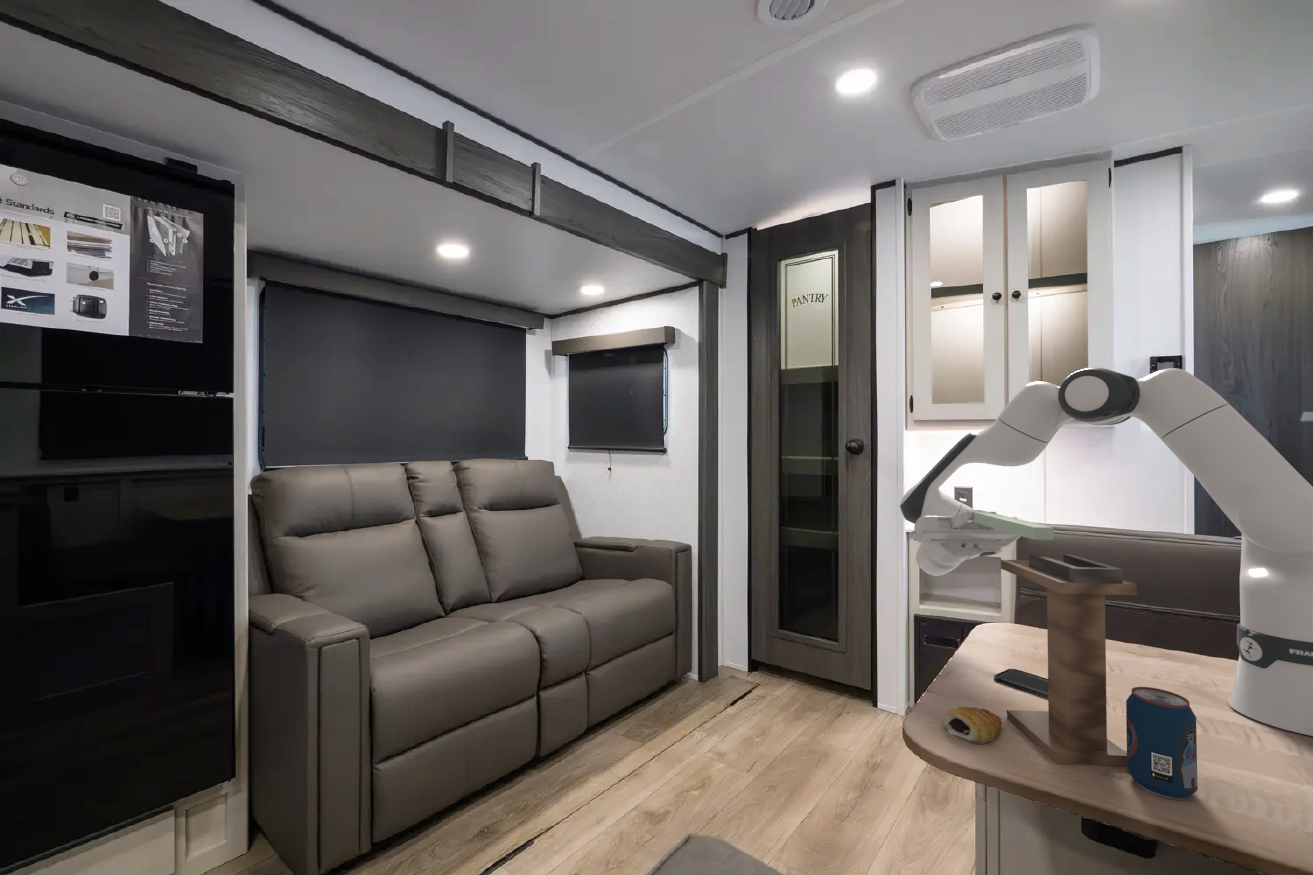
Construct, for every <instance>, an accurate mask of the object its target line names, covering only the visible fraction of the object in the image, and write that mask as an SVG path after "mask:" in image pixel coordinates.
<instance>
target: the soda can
mask: <svg viewBox="0 0 1313 875" xmlns="http://www.w3.org/2000/svg"><path fill="white" fill-rule="evenodd" d="M1130 693H1131V694H1129V696H1128V698H1127V699H1126V701H1125V707H1126V708H1125V709H1126V710H1125V711H1126V713H1125V714H1126V717H1125V718H1126V721H1125V722H1126V724H1125V725H1126V753H1127V767H1126V768H1127V772H1128V774H1130V776H1131V778H1132V780H1133V781H1134V783H1135V784H1136V785H1138V787H1140V788H1141V789H1143V790H1145V791H1147V792H1149V793H1151V794H1153V795H1156V796H1157V797H1161V798H1165V799H1170V800H1174V801H1175V800H1176V801H1187V800H1188V799H1190V798H1191V797H1193V795H1194V794H1195V793H1196V792H1197V791H1198V753H1197V752H1198V750H1197V749H1198V748H1197V746H1198V745H1197V741H1198V740H1197V739H1198V738H1197V717H1196V715H1195V713H1194V711H1193V709H1192V708H1191V706H1190V705H1191V703H1190V701H1189V700H1188V698H1185V697H1184V696H1182V695H1179V694H1177V693H1175V692H1173V691H1168V690H1165V689H1161V688H1157V687H1150V686H1136V687H1132V688H1131V692H1130Z"/></svg>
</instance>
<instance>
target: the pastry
mask: <svg viewBox="0 0 1313 875" xmlns="http://www.w3.org/2000/svg"><path fill="white" fill-rule="evenodd" d="M941 726H942V727H943V728H944V730H945V731H946V730H947V731H946V732H947V733H948V732H950V733H952V734H954V735H953V736H955V735H956V736H955V737H957V736H958V738H960V737H961V738H960V739H963V740H965V741H967V742H970V743H972V744H973V743H974V744H979V745H982V744H988V743H989V742H993V741H994V740H995V739H997V737H998V736H1000V734H1001V732H1002V730H1003V722H1002V719H1001V718H1000V716H998V715H996V714H994V713H993V712H991V711H990V710H988V709H985V708H978V707H974V706H973V707H971V706H963V705H962V706H957V707H956V708H954V707H952V708H951V709H949V710H948V712H947V714H946V715H945V716H944V718H943V719H942V720H941ZM950 733H949V734H950ZM952 734H951V735H952Z"/></svg>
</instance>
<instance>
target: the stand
mask: <svg viewBox="0 0 1313 875" xmlns="http://www.w3.org/2000/svg"><path fill="white" fill-rule="evenodd" d="M1000 570H1003V571H1006V572H1008V573H1010V574H1013V575H1015V576H1018V577H1019V578H1022V579H1025V580H1027V581H1030V582H1032V583H1035V584H1037V585H1039V586H1042V587H1044V588H1046V607H1047V608H1046V612H1047V614H1046V616H1047V618H1046V619H1047V620H1046V622H1047V679H1048V699H1047V700H1048V701H1047V702H1048V706H1047V707H1048V710H1047V711H1044V710H1024V709H1023V710H1022V709H1021V710H1019V709H1016V710H1015V709H1006V720H1008V721H1009V722H1010V723H1011V724H1012V725H1013V726H1014V727H1016V728H1017V730H1019V731H1020V732H1021V733H1022V734H1023V735H1024V736H1026V737H1027V739H1029V741H1031V742H1032V743H1033V744H1034V745H1035V746H1036V747H1037V748H1039V750H1041V751H1042V752H1043V754H1045V755H1046V756H1047V757H1049V759H1051V760H1052V761H1053V762H1054V763H1055V764H1062V765H1063V764H1064V765H1085V766H1086V765H1087V766H1090V765H1091V766H1105V767H1108V766H1109V767H1125V768H1127V751H1124V749H1122V748H1121V747H1119V746H1118V745H1117V744H1115V743H1114V742H1112V741H1111V740H1110V739H1108V731H1107V730H1108V725H1107V724H1108V722H1107V720H1108V719H1107V716H1108V715H1107V714H1108V713H1107V712H1108V711H1107V710H1108V709H1107V654H1106V653H1107V652H1106V650H1107V649H1106V644H1107V643H1106V640H1107V639H1106V595H1124V596H1137V595H1138V588H1137V587H1138V586H1137V585H1138V584H1137V583H1134V582H1132V581H1128V580H1125V579H1123V577H1124V576H1123V575H1124V574H1123V569H1122V568H1119V567H1115V566H1112V565H1108V564H1106V563H1101V562H1099V561H1096V560H1092V559H1089V558H1084V557H1082V556H1078V555H1075V554H1072V553H1071V554H1070V553H1068V554H1067V553H1066V554H1064V553H1063V554H1062V560H1057V559H1053V558H1051V557H1047V556H1044V555H1041V554H1038V553H1028V559H1000Z"/></svg>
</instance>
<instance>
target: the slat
mask: <svg viewBox="0 0 1313 875" xmlns="http://www.w3.org/2000/svg"><path fill="white" fill-rule="evenodd" d="M965 511H966V512H967V511H968V512H973V516H974V520H973V521H972V522H975V523H978V524H982V525H985V526H989V527H992V528H995V529H999V530H1002V531H1006V532H1009V533H1013V534H1016V535H1020V536H1021V537H1023V538H1027V539H1030V540H1035V541H1036V540H1037V541H1042V540H1043V541H1046V540H1047V541H1054V537H1055V534H1054V527H1052V526H1048V525H1045V524H1040V523H1036V522H1031V521H1027V520H1024V519H1020V518H1018V519H1016V518H1017V517H1016V518H1011V517H1012V516H1008V515H1007V516H1006V515H1002V514H999V513H997V514H995V513H990V512H991V511H986V510H981V509H974V510H965Z"/></svg>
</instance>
